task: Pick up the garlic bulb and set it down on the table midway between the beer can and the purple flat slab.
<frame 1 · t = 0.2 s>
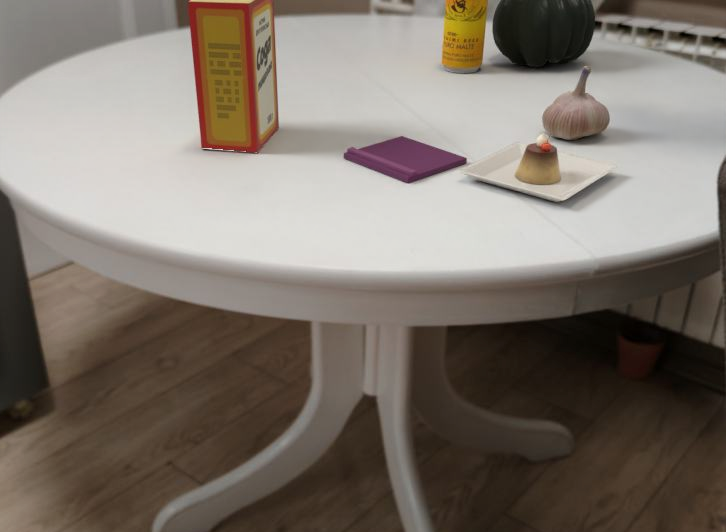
garlic bulb: (572, 137, 95), on the table
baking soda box: (241, 140, 95), on the table
purple flat slab: (404, 160, 88), on the table
dessert: (537, 180, 83), on the table
beer can: (461, 70, 122), on the table
squash: (537, 63, 125), on the table
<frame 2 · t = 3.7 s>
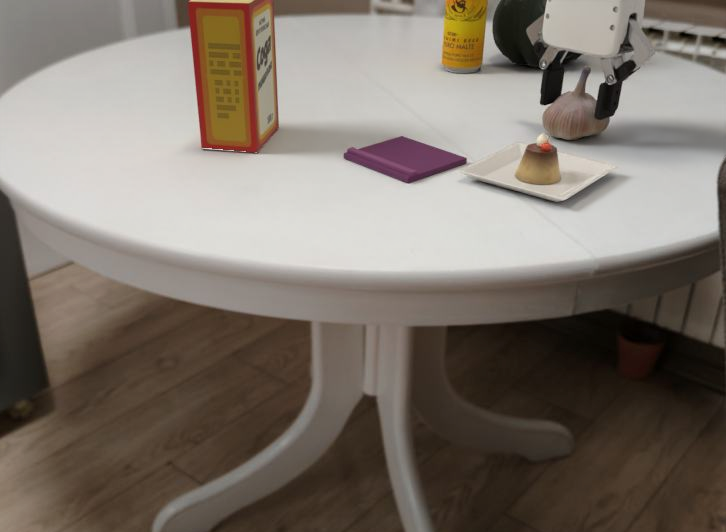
hand: (576, 108, 93), 3 cm above the table, tool pointing down, fingers closed on garlic bulb, 6 cm apart
garlic bulb: (572, 137, 95), on the table, touching gripper
everything else where it was.
when the fingers open (3 cm above the table, at t = 11.2 s): garlic bulb stays where it is, on the table.
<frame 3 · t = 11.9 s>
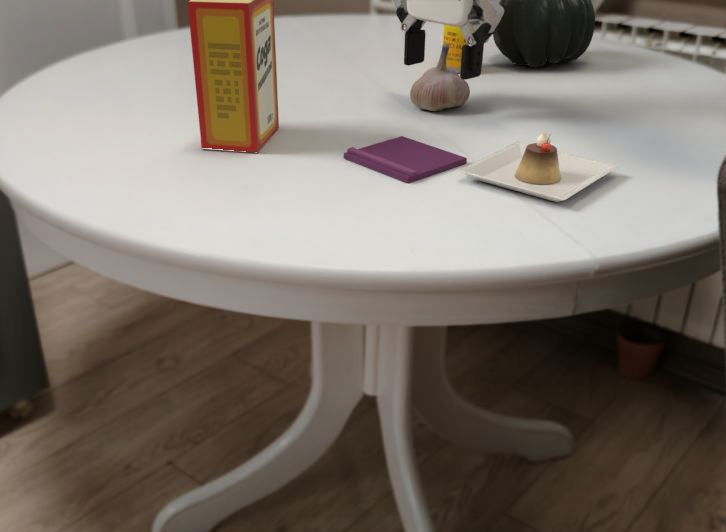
hand: (441, 70, 102), 5 cm above the table, tool pointing down, fingers open, 9 cm apart
garlic bulb: (438, 109, 105), on the table
everything else where it was.
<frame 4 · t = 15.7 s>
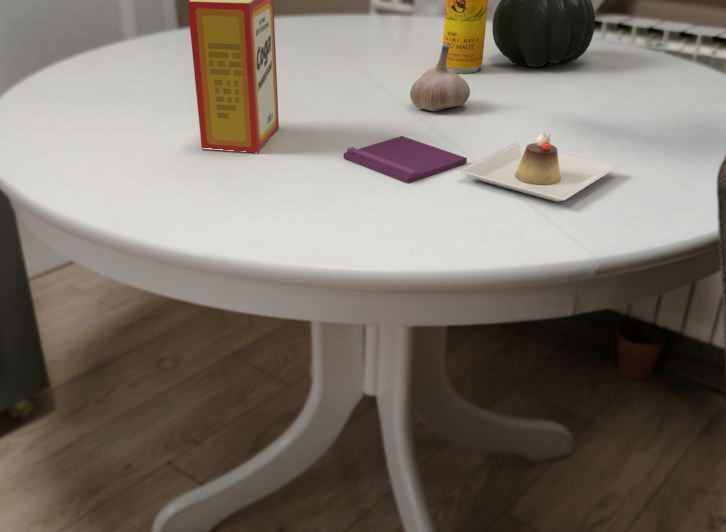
nothing on the table moved.
at the end: garlic bulb inside the target area (0.2 cm from its centre), on the table; the gripper is holding nothing; beer can moved 0.2 cm from its start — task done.
